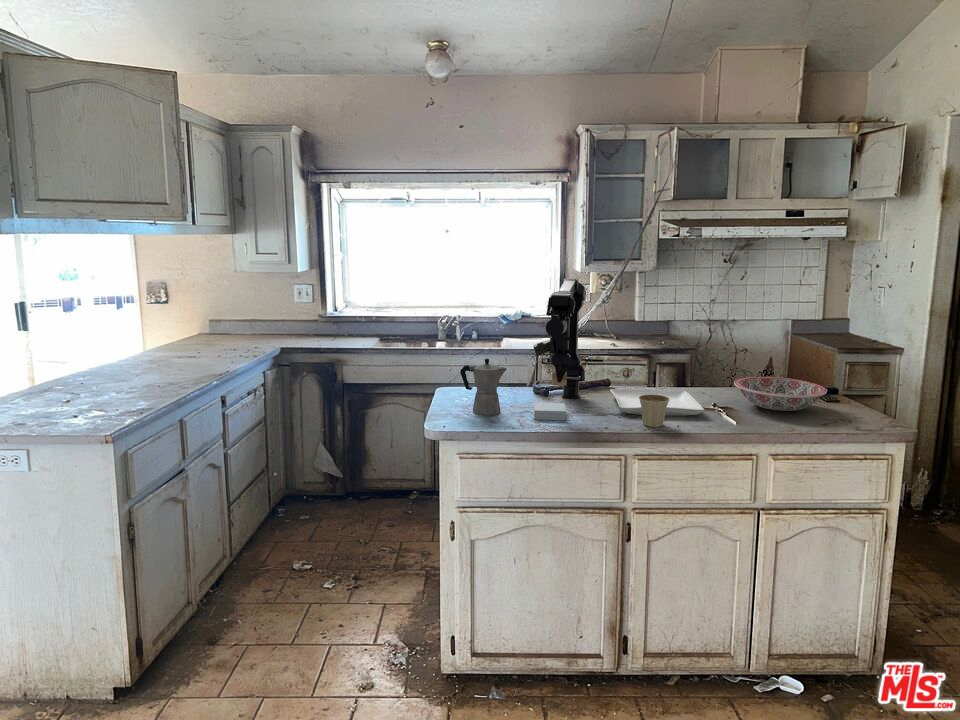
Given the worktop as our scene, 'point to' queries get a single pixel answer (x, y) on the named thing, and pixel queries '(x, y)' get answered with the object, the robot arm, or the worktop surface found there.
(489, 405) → the coffeepot
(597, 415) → the worktop surface
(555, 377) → the walnut block
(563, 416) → the base slab
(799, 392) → the ceramic bowl
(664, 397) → the flower pot
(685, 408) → the square plate
